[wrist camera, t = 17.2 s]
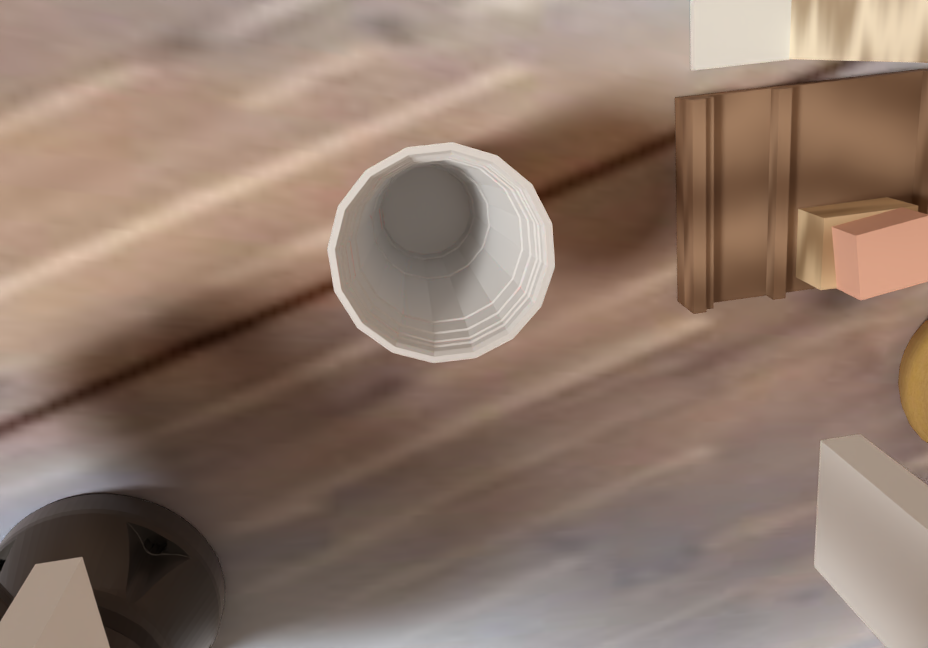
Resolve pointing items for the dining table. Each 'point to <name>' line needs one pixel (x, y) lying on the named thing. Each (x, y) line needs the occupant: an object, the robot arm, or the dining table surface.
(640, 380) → the dining table surface
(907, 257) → the offcut terracotta
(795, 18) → the birch block
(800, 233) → the offcut oak
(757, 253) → the rack
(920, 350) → the pot
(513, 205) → the plastic cup
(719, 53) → the white mat
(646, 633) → the dining table surface
